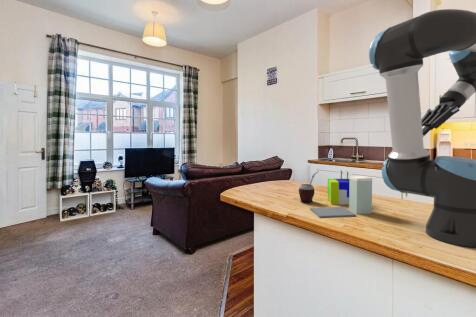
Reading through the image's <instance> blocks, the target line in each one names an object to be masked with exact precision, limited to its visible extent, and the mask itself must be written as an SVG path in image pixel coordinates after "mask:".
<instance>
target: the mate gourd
mask: <svg viewBox="0 0 476 317" xmlns="http://www.w3.org/2000/svg"><path fill="white" fill-rule="evenodd" d="M318 173H320V171H319V170H317V171H316V172H314V174H312V176H311V178H310V182H309V184H308V183H305V184H304V183H303V184H300V186H299V187H298V195H299V199H300V202H304V203H306V204H307V203H308V204H309V203H312V202H313V198H314V196H315V187H314V185H312V182H313V180H314V178H315V176H316V174H318Z"/></svg>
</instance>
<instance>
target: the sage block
mask: <svg viewBox="0 0 476 317" xmlns="http://www.w3.org/2000/svg"><path fill="white" fill-rule="evenodd" d="M348 179H349V205H348V210H349V211H351V212H352V213H354V214H356V215H370V214H372V212H373V210H372V209H373V208H372V207H373V203H372V202H373V177H369V176H366V175H351V176H350V175H349V178H348Z"/></svg>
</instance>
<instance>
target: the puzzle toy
mask: <svg viewBox="0 0 476 317" xmlns="http://www.w3.org/2000/svg"><path fill="white" fill-rule="evenodd" d="M327 200H328V202H329V204H330V205H348V206H349V178H327Z"/></svg>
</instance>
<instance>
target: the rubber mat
mask: <svg viewBox="0 0 476 317" xmlns="http://www.w3.org/2000/svg"><path fill="white" fill-rule="evenodd" d="M309 210H310V211H311V212H312V213H314V214H315V215H316V216H317V217H318V218H320V219H321V218H340V217H341V218H345V217H348V218H349V217H356V216H357V214H355V213H354V212H352V211H350V210H349V209H347V208H346V207H344V206H332V207H331V206H330V207H329V206H328V207H309Z"/></svg>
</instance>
